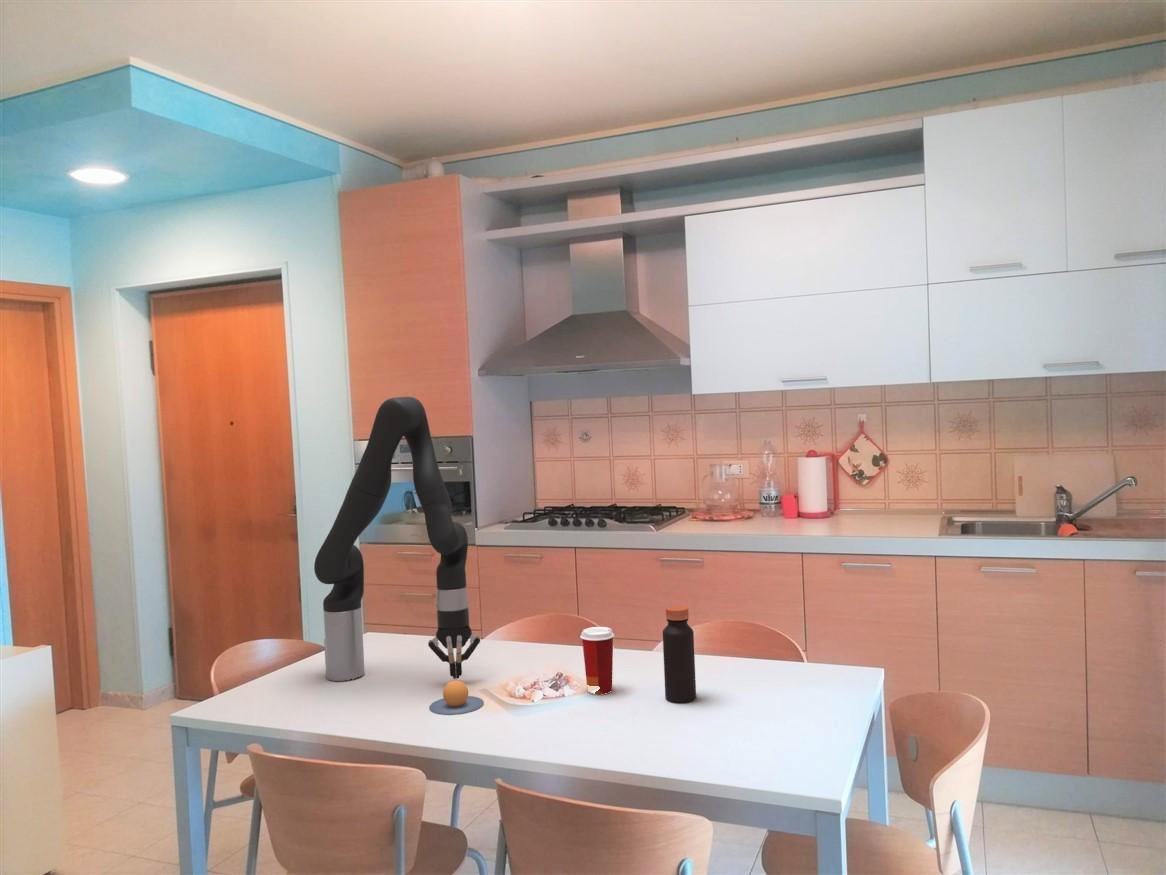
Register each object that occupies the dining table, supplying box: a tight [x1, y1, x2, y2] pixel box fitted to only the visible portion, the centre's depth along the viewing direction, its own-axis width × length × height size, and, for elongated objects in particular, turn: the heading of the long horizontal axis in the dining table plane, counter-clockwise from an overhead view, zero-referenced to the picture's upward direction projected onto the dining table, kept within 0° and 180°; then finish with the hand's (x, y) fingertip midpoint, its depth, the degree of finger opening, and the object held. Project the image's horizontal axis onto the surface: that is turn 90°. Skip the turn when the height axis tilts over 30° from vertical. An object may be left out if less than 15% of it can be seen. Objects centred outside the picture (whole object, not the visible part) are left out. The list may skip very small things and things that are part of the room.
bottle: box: [662, 605, 697, 704], centre depth 189 cm, size 7×7×20 cm
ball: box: [442, 680, 469, 707], centre depth 191 cm, size 6×6×6 cm
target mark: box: [428, 695, 485, 716], centre depth 191 cm, size 12×12×1 cm
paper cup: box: [579, 626, 615, 695], centre depth 197 cm, size 8×8×14 cm
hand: (456, 677), depth 207 cm, fingers closed
